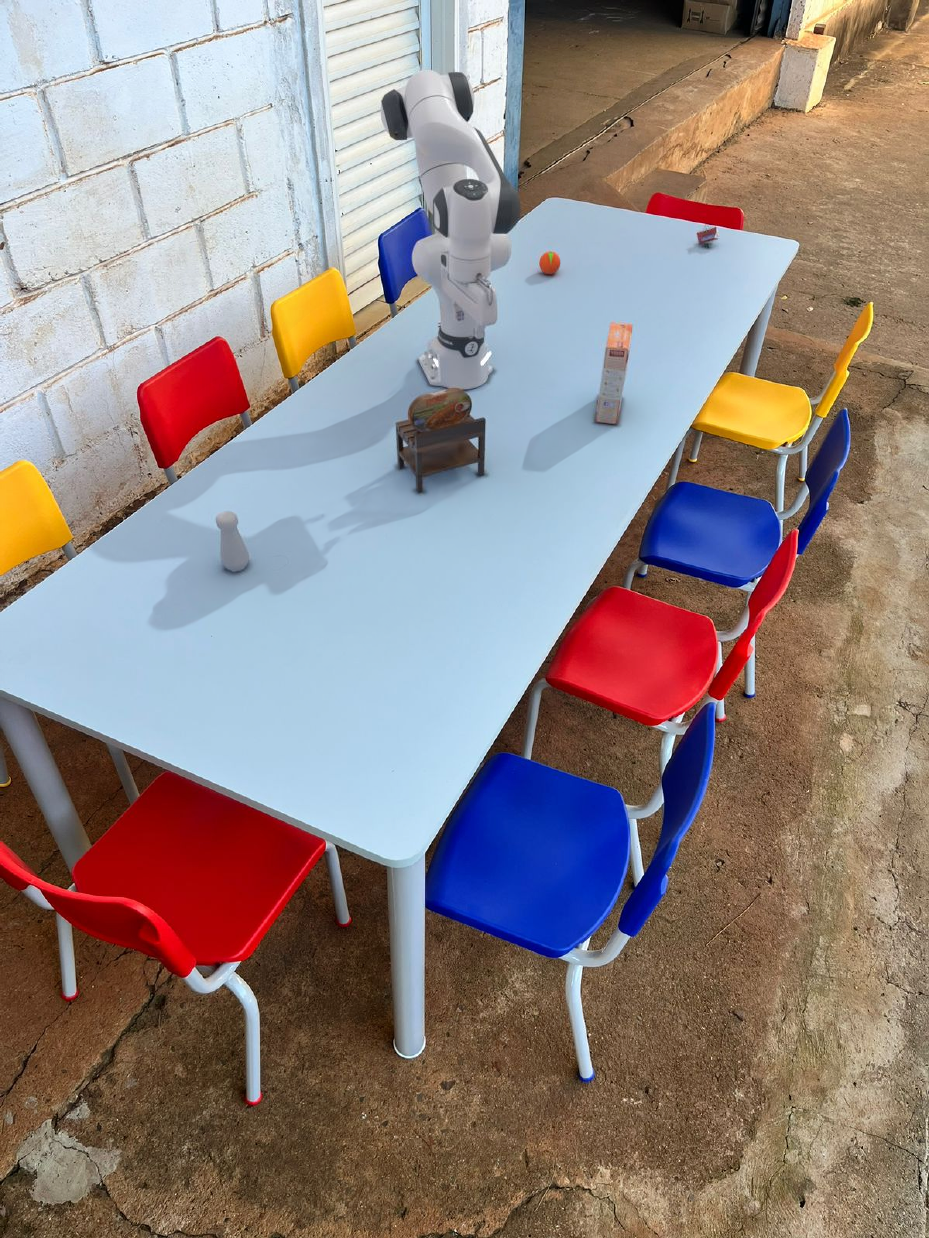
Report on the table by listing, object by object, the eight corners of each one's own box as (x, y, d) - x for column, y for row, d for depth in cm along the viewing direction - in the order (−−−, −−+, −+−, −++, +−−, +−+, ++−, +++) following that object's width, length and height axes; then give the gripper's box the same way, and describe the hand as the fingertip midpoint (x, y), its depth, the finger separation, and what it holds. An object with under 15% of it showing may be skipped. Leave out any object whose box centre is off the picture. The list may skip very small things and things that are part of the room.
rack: (397, 466, 213) (394, 411, 202) (461, 449, 218) (462, 394, 208) (418, 493, 205) (416, 437, 194) (484, 475, 210) (485, 419, 200)
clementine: (560, 279, 291) (562, 257, 286) (539, 279, 291) (540, 257, 286) (558, 269, 296) (560, 247, 291) (538, 269, 296) (539, 247, 291)
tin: (412, 437, 200) (410, 403, 194) (406, 430, 202) (405, 397, 196) (472, 421, 205) (473, 388, 199) (466, 415, 207) (466, 382, 201)
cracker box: (618, 426, 226) (629, 349, 212) (594, 423, 227) (604, 346, 213) (622, 398, 236) (633, 323, 222) (599, 395, 237) (609, 320, 223)
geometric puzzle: (691, 241, 309) (709, 223, 304) (691, 234, 314) (708, 216, 309) (706, 255, 311) (724, 238, 306) (705, 247, 316) (723, 230, 311)
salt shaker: (237, 578, 183) (226, 528, 174) (216, 568, 185) (204, 518, 176) (256, 562, 187) (246, 512, 178) (235, 553, 189) (224, 503, 180)
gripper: (506, 282, 182) (503, 345, 191) (462, 246, 195) (461, 307, 205) (478, 287, 180) (477, 351, 189) (435, 251, 193) (436, 312, 203)
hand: (468, 328), depth 197 cm, fingers open, 8 cm apart
